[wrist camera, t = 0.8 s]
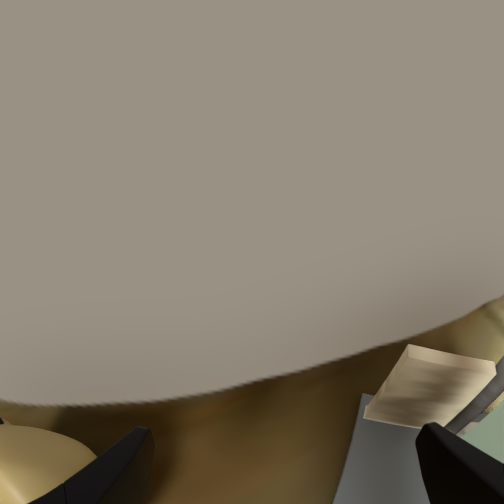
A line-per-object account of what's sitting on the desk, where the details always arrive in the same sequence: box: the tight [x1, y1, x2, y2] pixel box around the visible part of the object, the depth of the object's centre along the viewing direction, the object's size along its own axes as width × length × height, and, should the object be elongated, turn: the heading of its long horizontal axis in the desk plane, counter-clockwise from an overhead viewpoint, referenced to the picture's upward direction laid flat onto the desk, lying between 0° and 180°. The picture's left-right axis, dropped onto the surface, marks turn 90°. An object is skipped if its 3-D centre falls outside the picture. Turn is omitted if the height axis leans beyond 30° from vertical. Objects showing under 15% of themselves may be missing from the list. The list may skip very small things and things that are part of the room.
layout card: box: [331, 393, 489, 504], centre depth 15 cm, size 22×14×1 cm, turn 67°
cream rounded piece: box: [0, 418, 97, 504], centre depth 10 cm, size 10×12×11 cm
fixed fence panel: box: [365, 344, 504, 435], centre depth 17 cm, size 10×2×10 cm, turn 67°
